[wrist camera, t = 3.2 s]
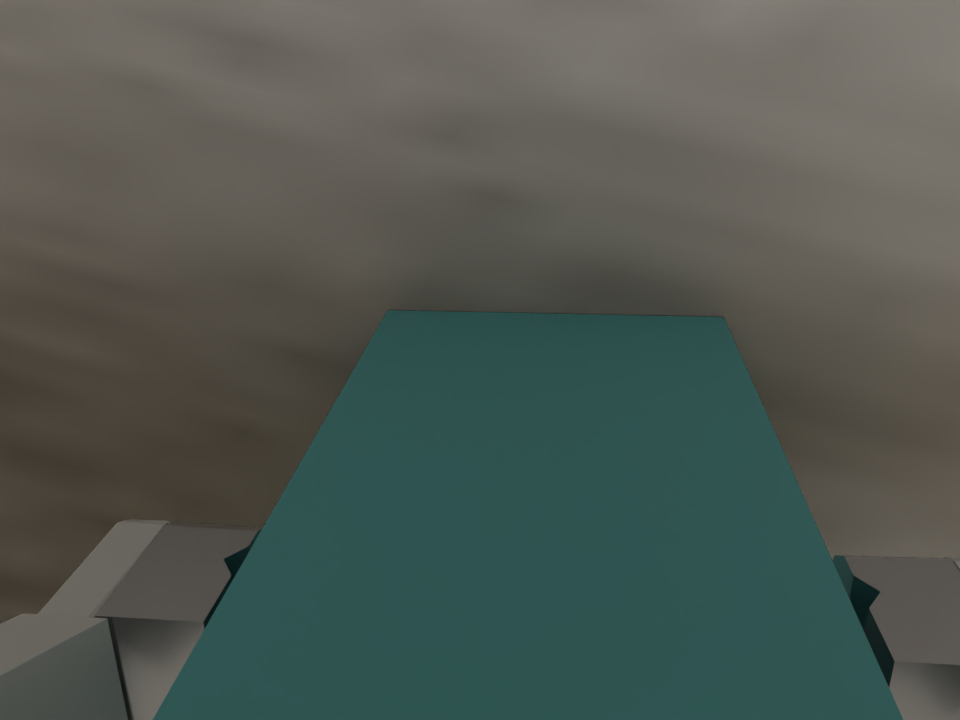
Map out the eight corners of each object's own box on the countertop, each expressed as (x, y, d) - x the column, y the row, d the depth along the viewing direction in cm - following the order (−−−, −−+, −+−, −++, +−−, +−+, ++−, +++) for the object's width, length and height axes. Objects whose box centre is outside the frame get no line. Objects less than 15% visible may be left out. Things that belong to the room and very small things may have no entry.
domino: (710, 449, 14) (966, 1322, 5) (395, 438, 15) (87, 1216, 5) (723, 317, 13) (1059, 1070, 4) (387, 310, 14) (7, 972, 5)
